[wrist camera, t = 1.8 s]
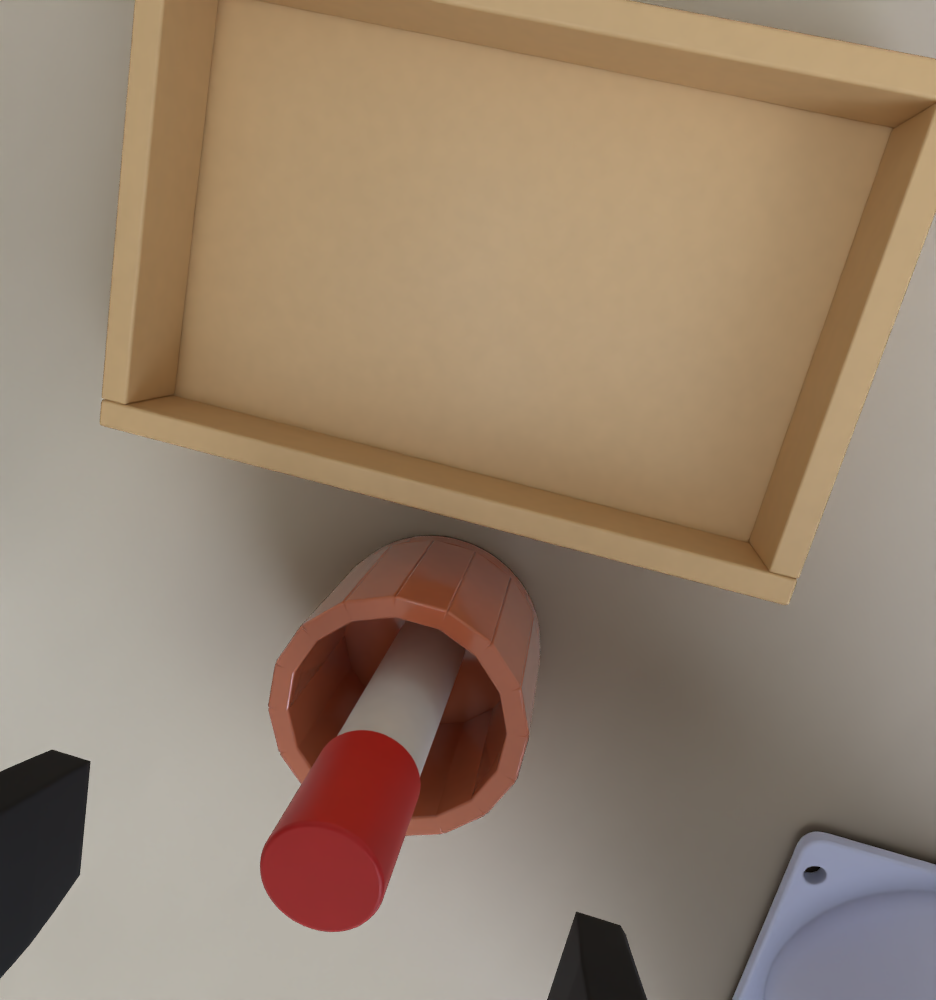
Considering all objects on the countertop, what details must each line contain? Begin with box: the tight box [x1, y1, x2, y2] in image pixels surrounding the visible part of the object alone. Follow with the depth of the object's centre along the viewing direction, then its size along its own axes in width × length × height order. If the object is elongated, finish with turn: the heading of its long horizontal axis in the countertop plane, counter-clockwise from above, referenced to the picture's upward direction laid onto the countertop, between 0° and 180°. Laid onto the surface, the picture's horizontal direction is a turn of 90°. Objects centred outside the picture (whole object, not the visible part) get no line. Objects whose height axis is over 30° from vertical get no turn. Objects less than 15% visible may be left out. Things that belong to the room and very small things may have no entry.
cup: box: [268, 536, 541, 836], centre depth 17 cm, size 5×5×4 cm
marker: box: [260, 621, 465, 932], centre depth 15 cm, size 2×2×8 cm
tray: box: [100, 0, 936, 605], centre depth 15 cm, size 10×15×2 cm, turn 78°
